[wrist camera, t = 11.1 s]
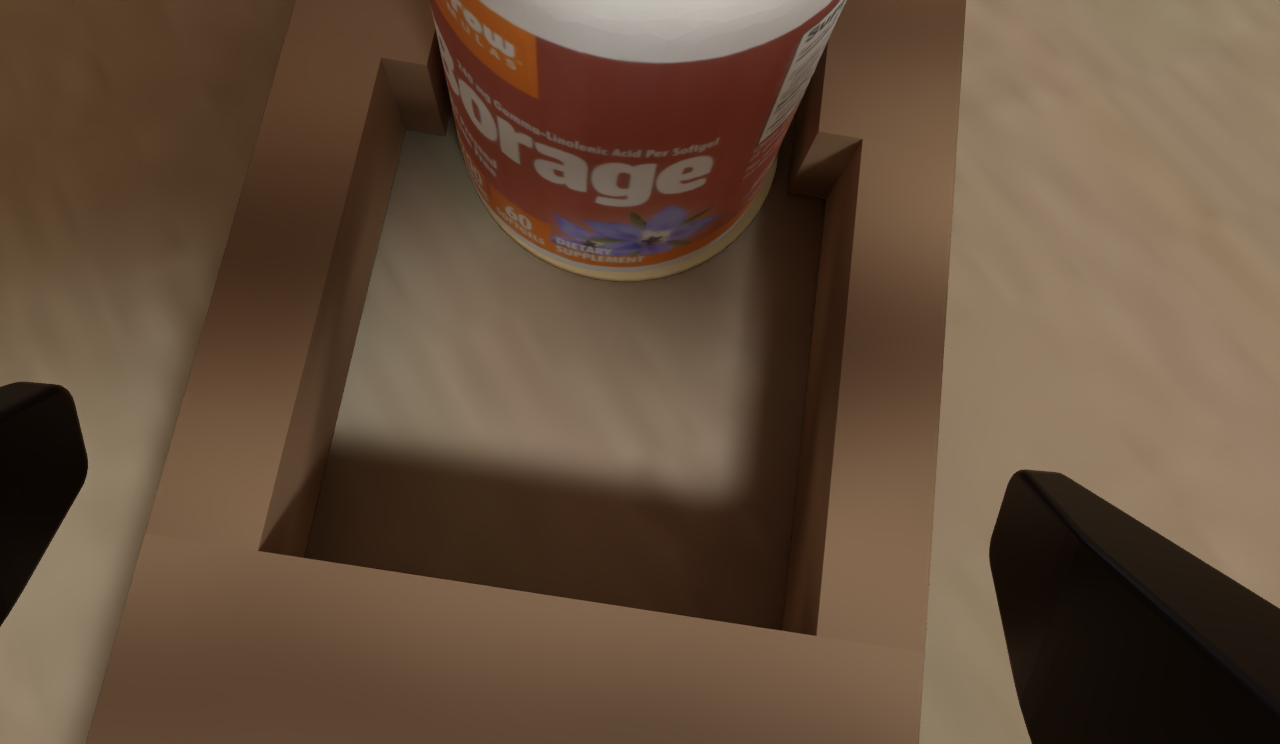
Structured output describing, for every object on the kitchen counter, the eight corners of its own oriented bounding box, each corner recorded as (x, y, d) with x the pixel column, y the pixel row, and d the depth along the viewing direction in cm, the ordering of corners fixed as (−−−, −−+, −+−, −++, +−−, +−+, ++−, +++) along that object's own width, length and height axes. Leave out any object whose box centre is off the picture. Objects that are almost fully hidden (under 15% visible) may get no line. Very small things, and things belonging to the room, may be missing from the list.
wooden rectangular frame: (846, 1005, 15) (897, 1077, 13) (112, 903, 15) (25, 956, 13) (926, -24, 21) (972, -108, 18) (382, -118, 20) (357, -218, 18)
